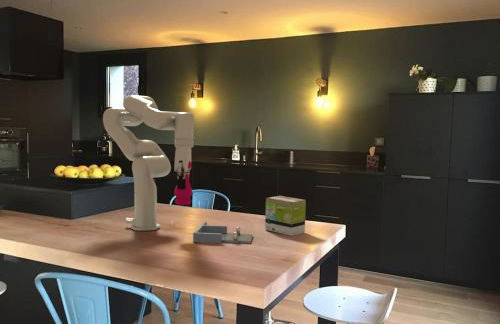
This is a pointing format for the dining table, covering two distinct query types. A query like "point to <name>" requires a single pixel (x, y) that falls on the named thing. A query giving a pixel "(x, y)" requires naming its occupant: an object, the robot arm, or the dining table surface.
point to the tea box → (285, 215)
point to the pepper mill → (184, 191)
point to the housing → (209, 233)
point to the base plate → (237, 237)
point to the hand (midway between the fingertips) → (183, 187)
